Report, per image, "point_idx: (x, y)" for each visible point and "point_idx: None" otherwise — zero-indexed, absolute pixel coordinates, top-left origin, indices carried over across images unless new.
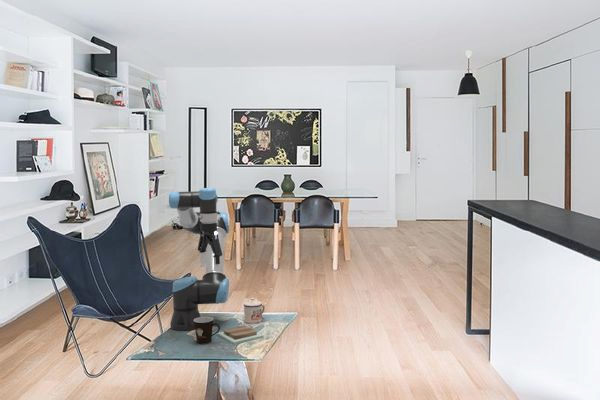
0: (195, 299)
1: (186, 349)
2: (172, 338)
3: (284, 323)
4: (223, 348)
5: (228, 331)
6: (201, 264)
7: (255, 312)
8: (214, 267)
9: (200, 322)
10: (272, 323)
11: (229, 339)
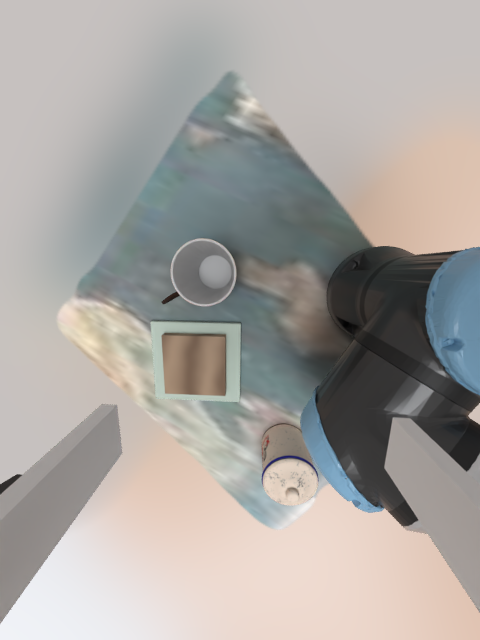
0: (366, 323)
1: (187, 206)
2: (296, 212)
3: (219, 480)
4: (141, 286)
5: (206, 341)
6: (409, 436)
7: (263, 458)
8: (72, 430)
9: (178, 249)
10: (236, 462)
11: (175, 323)
